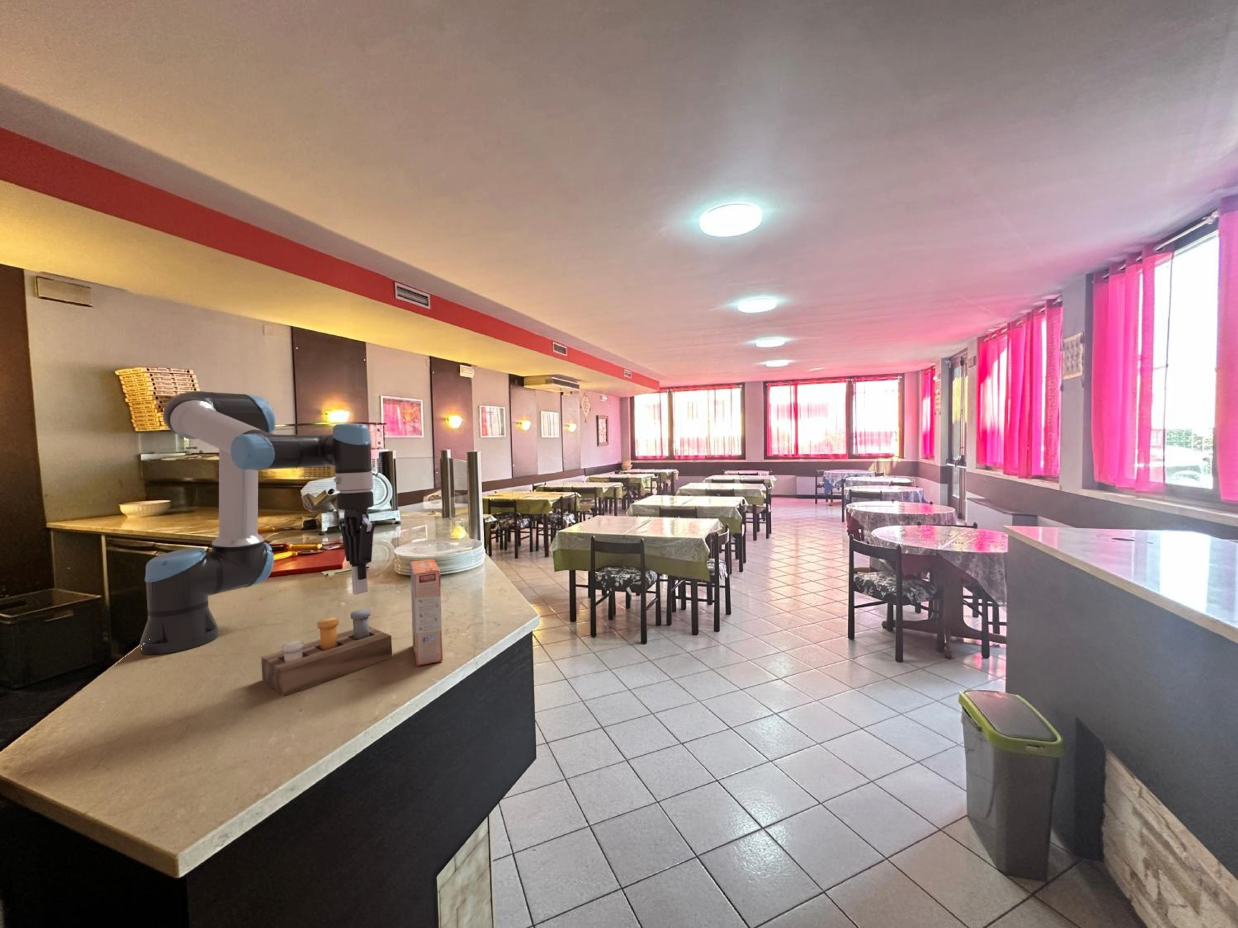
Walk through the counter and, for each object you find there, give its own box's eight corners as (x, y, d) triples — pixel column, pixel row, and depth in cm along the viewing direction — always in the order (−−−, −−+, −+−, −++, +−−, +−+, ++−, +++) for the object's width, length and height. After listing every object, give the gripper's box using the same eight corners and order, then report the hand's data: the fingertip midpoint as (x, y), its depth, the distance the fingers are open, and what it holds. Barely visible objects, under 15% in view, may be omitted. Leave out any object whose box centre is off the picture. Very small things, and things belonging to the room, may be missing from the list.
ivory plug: (280, 678, 104) (278, 645, 104) (301, 671, 108) (299, 639, 107) (287, 683, 102) (285, 649, 102) (308, 676, 105) (307, 643, 105)
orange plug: (315, 653, 110) (314, 621, 110) (335, 647, 113) (333, 616, 113) (323, 657, 107) (322, 625, 107) (343, 651, 111) (341, 620, 110)
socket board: (262, 679, 105) (261, 656, 105) (367, 645, 123) (366, 625, 123) (283, 695, 98) (282, 670, 98) (392, 656, 115) (391, 635, 115)
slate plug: (348, 642, 115) (347, 613, 115) (366, 637, 119) (365, 608, 118) (356, 646, 113) (355, 616, 113) (374, 641, 116) (373, 611, 116)
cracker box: (444, 661, 112) (441, 569, 111) (415, 667, 109) (411, 573, 109) (438, 640, 125) (435, 557, 124) (412, 645, 122) (408, 560, 121)
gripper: (325, 492, 116) (330, 592, 116) (350, 493, 108) (356, 601, 108) (358, 489, 121) (363, 585, 122) (385, 490, 113) (390, 592, 114)
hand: (360, 592), depth 115 cm, fingers closed
